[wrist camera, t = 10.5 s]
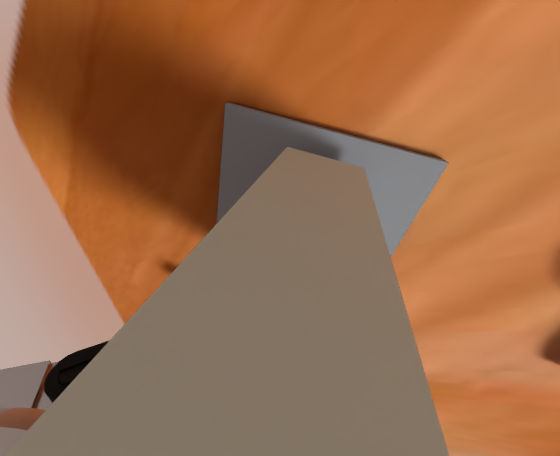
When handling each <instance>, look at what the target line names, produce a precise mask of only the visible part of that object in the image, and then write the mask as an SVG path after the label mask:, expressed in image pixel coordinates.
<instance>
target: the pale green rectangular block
mask: <svg viewBox="0 0 560 456" xmlns="http://www.w3.org/2000/svg"><path fill="white" fill-rule="evenodd" d="M5 456H449V453H448V450H447V447H446V443H445V440H444V436H443V433H442V430H441V426H440V423H439V419H438V416H437V413H436V409H435V406H434V403H433V399H432V396H431V392H430V389H429V386H428V382H427V379H426V375H425V372H424V369H423V365H422V362H421V358H420V355H419V352H418V348H417V345H416V342H415V338H414V335H413V331H412V328H411V325H410V321H409V318H408V314H407V311H406V308H405V304H404V301H403V297H402V294H401V291H400V287H399V284H398V281H397V277H396V274H395V270H394V267H393V264H392V260H391V257H390V253H389V250H388V247H387V243H386V240H385V236H384V233H383V230H382V226H381V223H380V220H379V216H378V213H377V209H376V206H375V203H374V199H373V196H372V192H371V189H370V186H369V182H368V179H367V175H366V172H365V169H364V168H363V167H359V166H356V165H352V164H348V163H345V162H341V161H338V160H334V159H330V158H327V157H323V156H320V155H316V154H312V153H309V152H305V151H301V150H298V149H294V148H291V147H287V148H286V149H285V150H284V151H283V152H282V153H281V154H280V155H279V156H278V157H277V159H276V160H275V161H274V162H273V163H272V164H271V165H270V166H269V167H268V168H267V169H266V171H265V172H264V173H263V174H262V175H261V176H260V177H259V178H258V179H257V180H256V181H255V183H254V184H253V185H252V186H251V187H250V188H249V189H248V190H247V191H246V192H245V194H244V195H243V196H242V197H241V198H240V199H239V200H238V201H237V202H236V203H235V204H234V206H233V207H232V208H231V209H230V210H229V211H228V212H227V213H226V214H225V215H224V216H223V218H222V219H221V220H220V221H219V222H218V223H217V224H216V225H215V226H214V227H213V228H212V230H211V231H210V232H209V233H208V234H207V235H206V236H205V237H204V238H203V239H202V240H201V242H200V243H199V244H198V245H197V246H196V247H195V248H194V249H193V250H192V251H191V252H190V254H189V255H188V256H187V257H186V258H185V259H184V260H183V261H182V262H181V263H180V264H179V266H178V267H177V268H176V269H175V270H174V271H173V272H172V273H171V274H170V275H169V276H168V278H167V279H166V280H165V281H164V282H163V283H162V284H161V285H160V286H159V287H158V288H157V290H156V291H155V292H154V293H153V294H152V295H151V296H150V297H149V298H148V299H147V300H146V302H145V303H144V304H143V305H142V306H141V307H140V308H139V309H138V310H137V311H136V313H135V314H134V315H133V316H132V317H131V318H130V319H129V320H128V321H127V322H126V323H125V325H124V326H123V327H122V328H121V329H120V330H119V331H118V332H117V333H116V334H115V335H114V337H113V338H112V339H111V340H110V341H109V342H108V343H107V344H106V345H105V346H104V347H103V349H102V350H101V351H100V352H99V353H98V354H97V355H96V356H95V357H94V358H93V359H92V361H91V362H90V363H89V364H88V365H87V366H86V367H85V368H84V369H83V370H82V371H81V373H80V374H79V375H78V376H77V377H76V378H75V379H74V380H73V381H72V382H71V383H70V385H69V386H68V387H67V388H66V389H65V390H64V391H63V392H62V393H61V394H60V395H59V397H58V398H57V399H56V400H55V401H54V402H53V403H52V404H51V405H50V406H49V407H48V409H47V410H46V411H45V412H44V413H43V414H42V415H41V416H40V417H39V418H38V420H37V421H36V422H35V423H34V424H33V425H32V426H31V427H30V428H29V429H28V430H27V432H26V433H25V434H24V435H23V436H22V437H21V438H20V439H19V440H18V441H17V442H16V444H15V445H14V446H13V447H12V448H11V449H10V450H9V451H8V452H7V453H6V454H5Z"/></svg>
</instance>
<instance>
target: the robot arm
mask: <svg viewBox="0 0 560 456" xmlns="http://www.w3.org/2000/svg"><path fill="white" fill-rule="evenodd" d="M108 342H109V341H107V342H104V343H101V344H98V345H95V346H92V347H89V348H86V349H83V350H80V351H77V352H75V353H72V354H70V355H68V356H67V357H65V358H64V359H62V360H61V361H59V362H55V363H51V362H50V361H45V362H40V363H34V364H29V365H23V366H19V367H13V368H8V369H3V370H0V456H5V454H6V453H7V452H8V451H9V450H10V449H11V448H12V447H13V446H14V445H15V444H16V442H17V441H18V440H19V439H20V438H21V437H22V436H23V435H24V434H25V433H26V432H27V430H28V429H29V428H30V427H31V426H32V425H33V424H34V423H35V422H36V421H37V420H38V418H39V417H40V416H41V415H42V414H43V413H44V412H45V411H46V410H47V409H48V407H49V406H50V405H51V404H52V403H53V402H54V401H55V400H56V399H57V398H58V397H59V395H60V394H61V393H62V392H63V391H64V390H65V389H66V388H67V387H68V386H69V385H70V383H71V382H72V381H73V380H74V379H75V378H76V377H77V376H78V375H79V374H80V373H81V371H82V370H83V369H84V368H85V367H86V366H87V365H88V364H89V363H90V362H91V361H92V359H93V358H94V357H95V356H96V355H97V354H98V353H99V352H100V351H101V350H102V349H103V347H104V346H105V345H106V344H107V343H108Z"/></svg>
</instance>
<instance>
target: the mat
mask: <svg viewBox="0 0 560 456" xmlns="http://www.w3.org/2000/svg"><path fill="white" fill-rule="evenodd" d="M287 147H291V148H294V149H298V150H301V151H305V152H309V153H312V154H316V155H320V156H323V157H327V158H330V159H334V160H338V161H341V162H345V163H348V164H352V165H356V166H359V167H363V168H364V169H365V172H366V175H367V179H368V182H369V186H370V189H371V192H372V196H373V199H374V203H375V206H376V209H377V213H378V216H379V220H380V223H381V226H382V230H383V233H384V236H385V240H386V243H387V247H388V250H389V253H390V257H391V256H392V254H393V252H394V251H395V249H396V248H397V246H398V244H399V243H400V241H401V239H402V238H403V236H404V235H405V233H406V231H407V230H408V228H409V226H410V225H411V223H412V222H413V220H414V218H415V217H416V215H417V213H418V212H419V210H420V208H421V207H422V205H423V204H424V202H425V200H426V199H427V197H428V195H429V194H430V192H431V191H432V189H433V187H434V186H435V184H436V182H437V181H438V179H439V178H440V176H441V174H442V173H443V171H444V169H445V168H446V166H447V165H448V162H447V161H445V160H443V159H439V158H435V157H432V156H428V155H424V154H420V153H417V152H413V151H409V150H405V149H402V148H398V147H394V146H390V145H387V144H383V143H379V142H376V141H372V140H368V139H364V138H361V137H357V136H353V135H349V134H346V133H342V132H338V131H334V130H331V129H327V128H323V127H319V126H316V125H312V124H308V123H304V122H301V121H297V120H293V119H289V118H286V117H282V116H278V115H274V114H271V113H267V112H263V111H259V110H256V109H252V108H248V107H245V106H241V105H237V104H233V103H225V115H224V129H223V142H222V156H221V169H220V183H219V197H218V210H217V223H218V222H219V221H220V220H221V219H222V218H223V216H224V215H225V214H226V213H227V212H228V211H229V210H230V209H231V208H232V207H233V206H234V204H235V203H236V202H237V201H238V200H239V199H240V198H241V197H242V196H243V195H244V194H245V192H246V191H247V190H248V189H249V188H250V187H251V186H252V185H253V184H254V183H255V181H256V180H257V179H258V178H259V177H260V176H261V175H262V174H263V173H264V172H265V171H266V169H267V168H268V167H269V166H270V165H271V164H272V163H273V162H274V161H275V160H276V159H277V157H278V156H279V155H280V154H281V153H282V152H283V151H284V150H285V149H286V148H287Z"/></svg>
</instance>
